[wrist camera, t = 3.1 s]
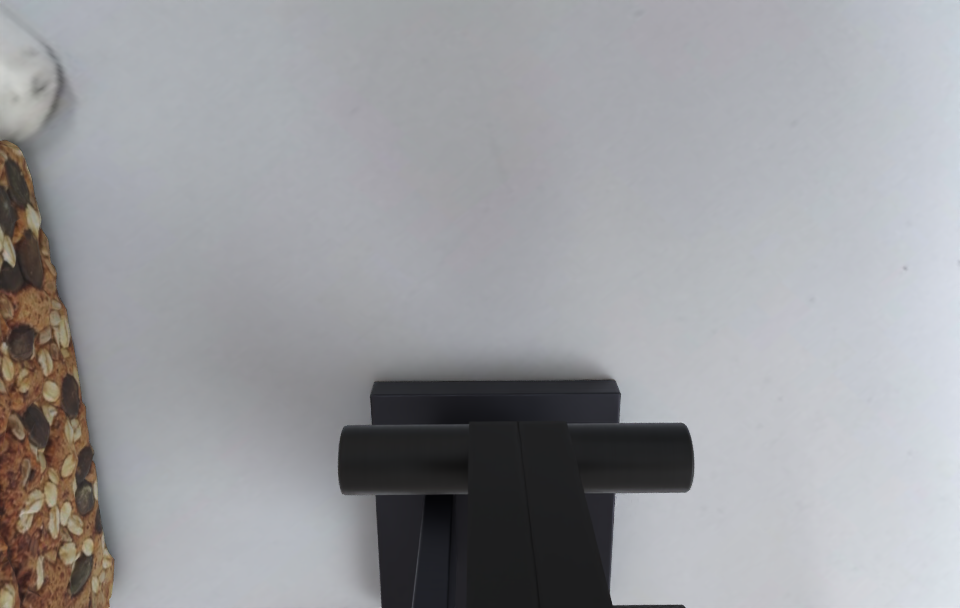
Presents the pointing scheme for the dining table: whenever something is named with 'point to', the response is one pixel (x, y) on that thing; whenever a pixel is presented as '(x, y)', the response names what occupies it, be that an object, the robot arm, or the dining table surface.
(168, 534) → the dining table surface
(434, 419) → the bracket
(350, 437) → the lever
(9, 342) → the bread
